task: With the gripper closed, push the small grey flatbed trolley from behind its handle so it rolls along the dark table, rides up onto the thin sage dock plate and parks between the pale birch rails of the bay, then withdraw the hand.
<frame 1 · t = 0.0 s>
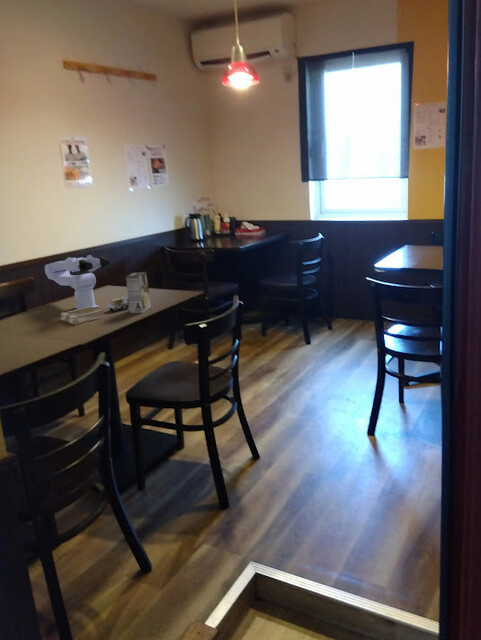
hand: (100, 264, 236), 22 cm above the table, tool horizontal, fingers open, 7 cm apart
coffee box: (140, 310, 243), on the table
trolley: (119, 309, 247), on the table
dock bay: (84, 318, 237), on the table
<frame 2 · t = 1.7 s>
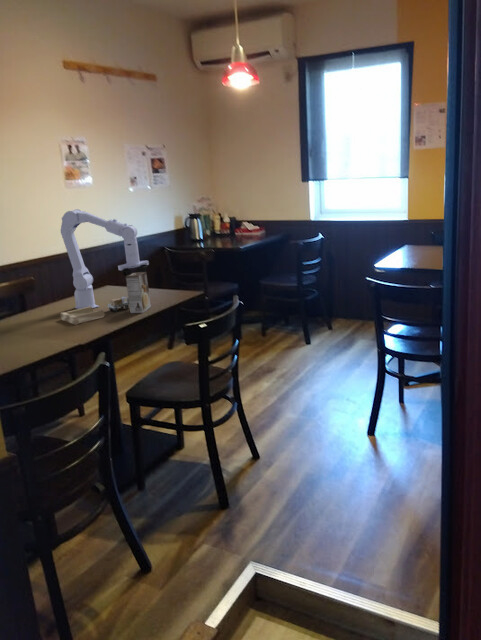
hand: (136, 283, 251), 10 cm above the table, tool pointing down, fingers open, 6 cm apart
nothing on the table moved.
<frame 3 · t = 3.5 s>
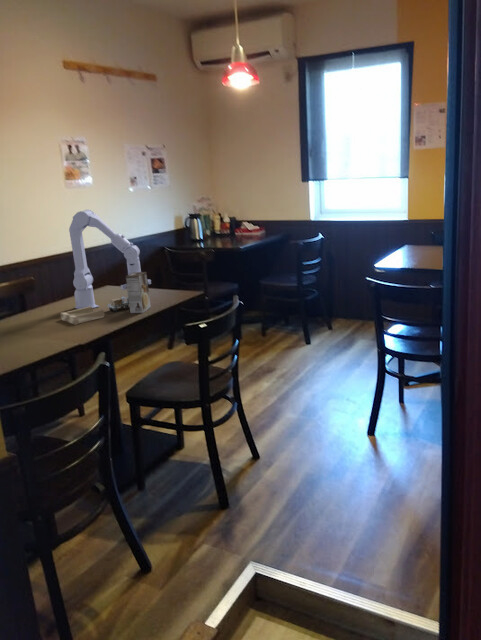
hand: (138, 302, 253), 1 cm above the table, tool pointing down, fingers closed
nothing on the table moved.
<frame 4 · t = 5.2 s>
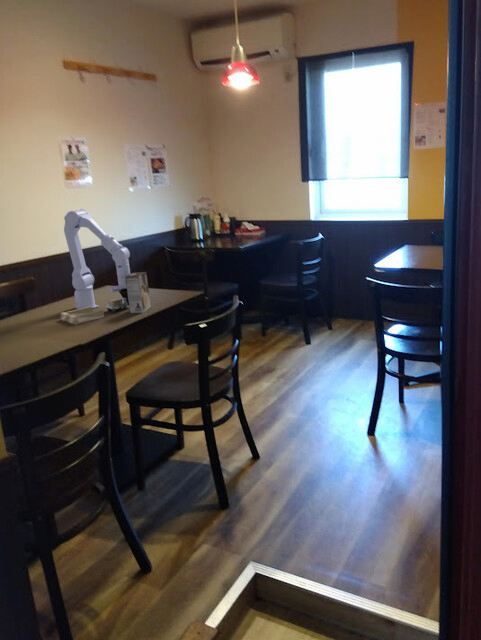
hand: (128, 304, 250), 1 cm above the table, tool pointing down, fingers closed
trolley: (117, 310, 247), on the table, touching gripper
everything else where it was.
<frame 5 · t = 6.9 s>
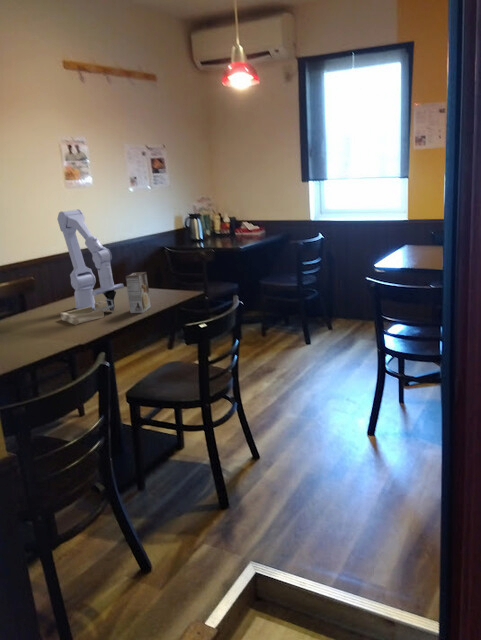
hand: (111, 307, 244), 2 cm above the table, tool pointing down, fingers closed, pressing on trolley
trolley: (104, 312, 243), on the table, tilted 7°, touching dock bay, gripper
everything else where it was.
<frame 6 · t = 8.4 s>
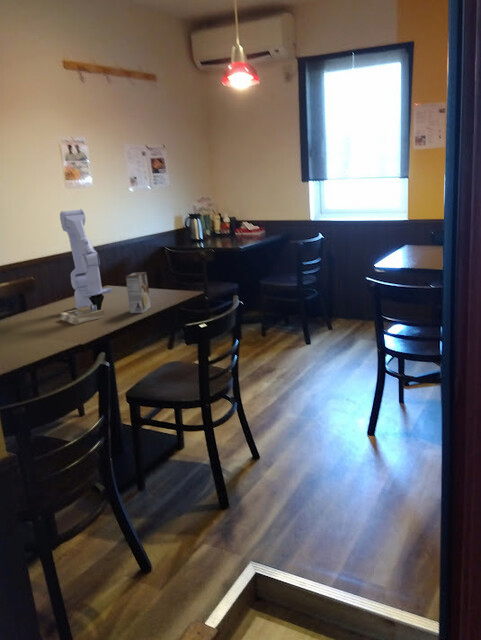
hand: (98, 312, 241), 1 cm above the table, tool pointing down, fingers closed
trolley: (87, 317, 238), resting on dock bay, touching gripper
everything else where it was.
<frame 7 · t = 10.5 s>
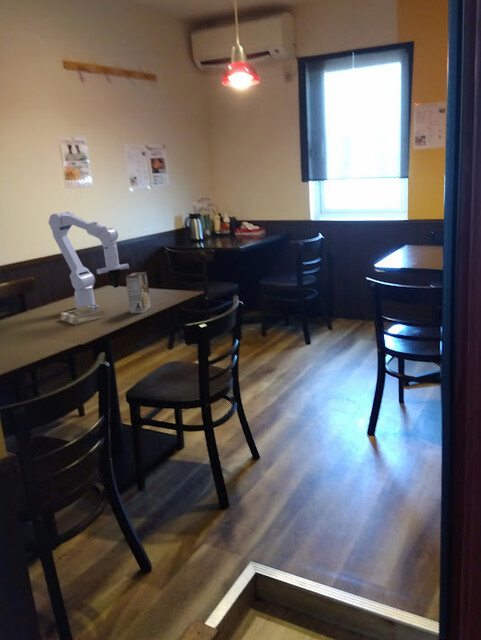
hand: (115, 287, 246), 10 cm above the table, tool pointing down, fingers closed
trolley: (87, 317, 238), resting on dock bay
everything else where it was.
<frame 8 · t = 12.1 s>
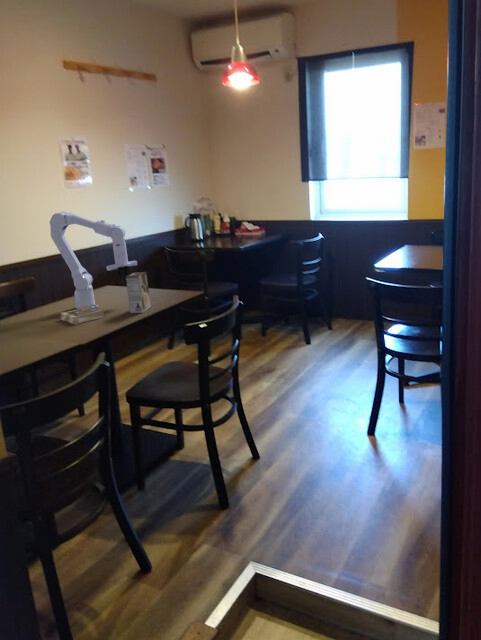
hand: (124, 283, 253), 10 cm above the table, tool pointing down, fingers closed
nothing on the table moved.
at the end: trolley inside the target area (1.2 cm from its centre), resting on dock bay; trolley tilted 0° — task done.
